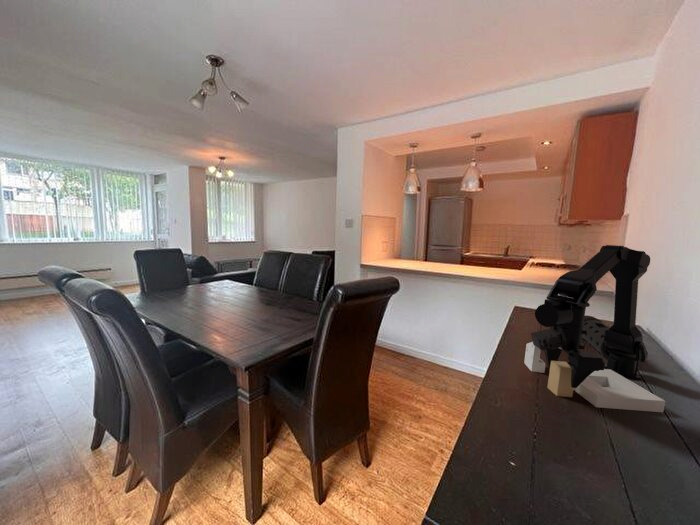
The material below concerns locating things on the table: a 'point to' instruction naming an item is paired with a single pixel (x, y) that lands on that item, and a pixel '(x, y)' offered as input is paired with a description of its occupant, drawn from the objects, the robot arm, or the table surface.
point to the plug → (560, 379)
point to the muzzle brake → (595, 334)
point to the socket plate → (617, 393)
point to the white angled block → (534, 358)
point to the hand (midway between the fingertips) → (561, 378)
